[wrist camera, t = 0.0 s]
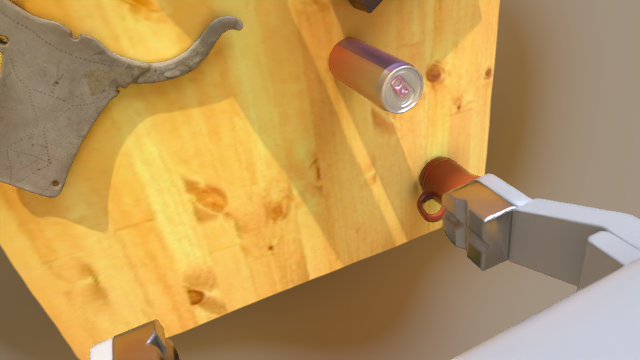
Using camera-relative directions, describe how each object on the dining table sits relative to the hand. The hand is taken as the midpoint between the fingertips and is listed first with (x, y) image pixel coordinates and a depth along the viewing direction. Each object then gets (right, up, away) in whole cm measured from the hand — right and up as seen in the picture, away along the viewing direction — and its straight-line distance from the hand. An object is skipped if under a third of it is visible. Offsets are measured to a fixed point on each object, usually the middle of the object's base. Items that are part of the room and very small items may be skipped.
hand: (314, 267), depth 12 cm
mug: (+19, +3, +68) cm, 71 cm away
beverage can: (+4, +20, +51) cm, 55 cm away
